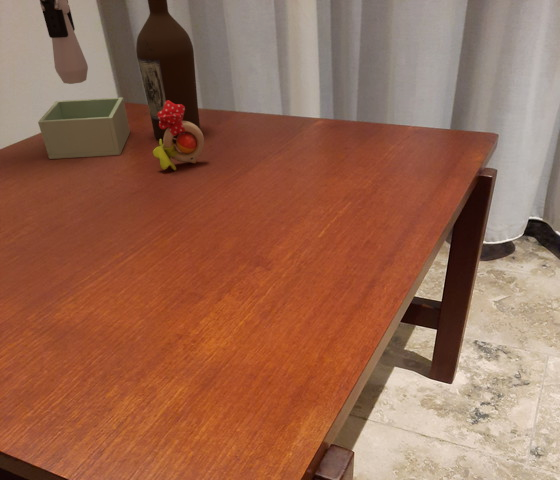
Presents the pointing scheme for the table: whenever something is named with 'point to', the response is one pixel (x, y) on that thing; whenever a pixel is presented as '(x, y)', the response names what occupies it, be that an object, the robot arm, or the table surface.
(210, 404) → the table surface
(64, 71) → the salt shaker
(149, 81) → the olive oil
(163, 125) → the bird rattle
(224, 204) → the table surface
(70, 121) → the bin
